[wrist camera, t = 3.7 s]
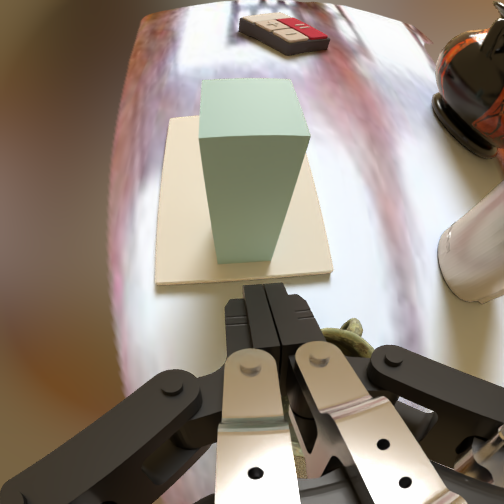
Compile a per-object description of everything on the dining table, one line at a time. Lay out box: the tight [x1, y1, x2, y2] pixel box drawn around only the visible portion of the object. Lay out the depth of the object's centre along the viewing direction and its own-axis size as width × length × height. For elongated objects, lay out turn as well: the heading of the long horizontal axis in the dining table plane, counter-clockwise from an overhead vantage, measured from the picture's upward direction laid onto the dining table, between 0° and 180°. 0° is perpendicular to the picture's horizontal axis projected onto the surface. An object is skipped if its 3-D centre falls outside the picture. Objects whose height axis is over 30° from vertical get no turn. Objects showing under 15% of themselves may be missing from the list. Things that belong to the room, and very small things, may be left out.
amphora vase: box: [432, 1, 504, 159], centre depth 23 cm, size 22×22×28 cm
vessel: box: [281, 318, 374, 458], centre depth 17 cm, size 12×9×6 cm
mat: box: [155, 115, 333, 285], centre depth 27 cm, size 20×15×1 cm
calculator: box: [239, 12, 330, 56], centre depth 41 cm, size 11×4×15 cm
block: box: [199, 78, 311, 264], centre depth 17 cm, size 4×4×14 cm
